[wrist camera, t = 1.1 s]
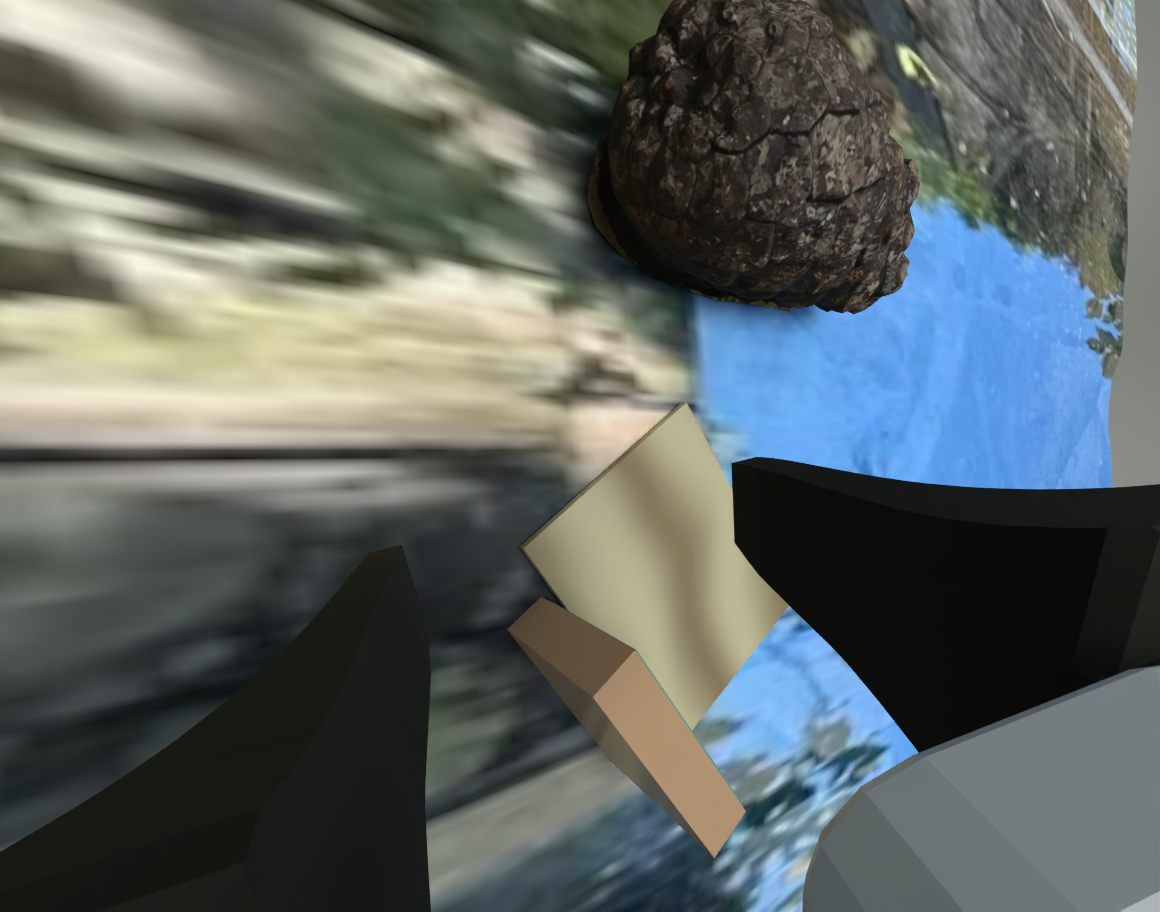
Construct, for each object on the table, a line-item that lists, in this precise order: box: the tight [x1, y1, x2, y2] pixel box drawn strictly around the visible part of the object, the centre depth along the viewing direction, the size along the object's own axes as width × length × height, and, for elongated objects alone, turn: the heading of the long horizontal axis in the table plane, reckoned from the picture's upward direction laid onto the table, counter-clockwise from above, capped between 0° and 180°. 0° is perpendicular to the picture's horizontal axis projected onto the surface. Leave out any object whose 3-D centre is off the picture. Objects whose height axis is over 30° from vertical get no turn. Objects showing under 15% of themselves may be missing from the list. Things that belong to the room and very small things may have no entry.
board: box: [520, 403, 789, 730], centre depth 27 cm, size 11×14×1 cm
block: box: [507, 597, 746, 858], centre depth 22 cm, size 2×9×7 cm, turn 36°
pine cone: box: [588, 0, 920, 314], centre depth 24 cm, size 10×18×10 cm, turn 87°
